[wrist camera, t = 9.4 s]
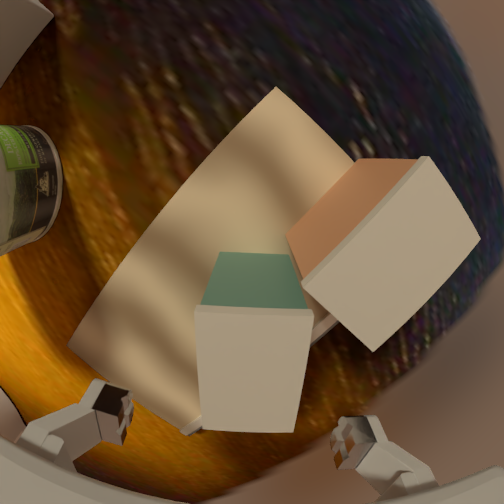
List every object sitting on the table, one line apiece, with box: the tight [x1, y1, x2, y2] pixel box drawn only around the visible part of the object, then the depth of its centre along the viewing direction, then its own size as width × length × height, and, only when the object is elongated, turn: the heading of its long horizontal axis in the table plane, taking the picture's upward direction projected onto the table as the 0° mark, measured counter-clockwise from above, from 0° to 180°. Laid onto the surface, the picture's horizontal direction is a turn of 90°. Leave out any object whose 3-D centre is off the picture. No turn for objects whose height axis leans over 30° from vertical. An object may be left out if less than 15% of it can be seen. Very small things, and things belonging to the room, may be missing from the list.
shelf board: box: [66, 87, 354, 436], centre depth 21 cm, size 26×14×2 cm, turn 137°
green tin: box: [194, 252, 314, 433], centre depth 16 cm, size 5×7×8 cm
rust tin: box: [285, 156, 480, 352], centre depth 15 cm, size 5×7×8 cm
